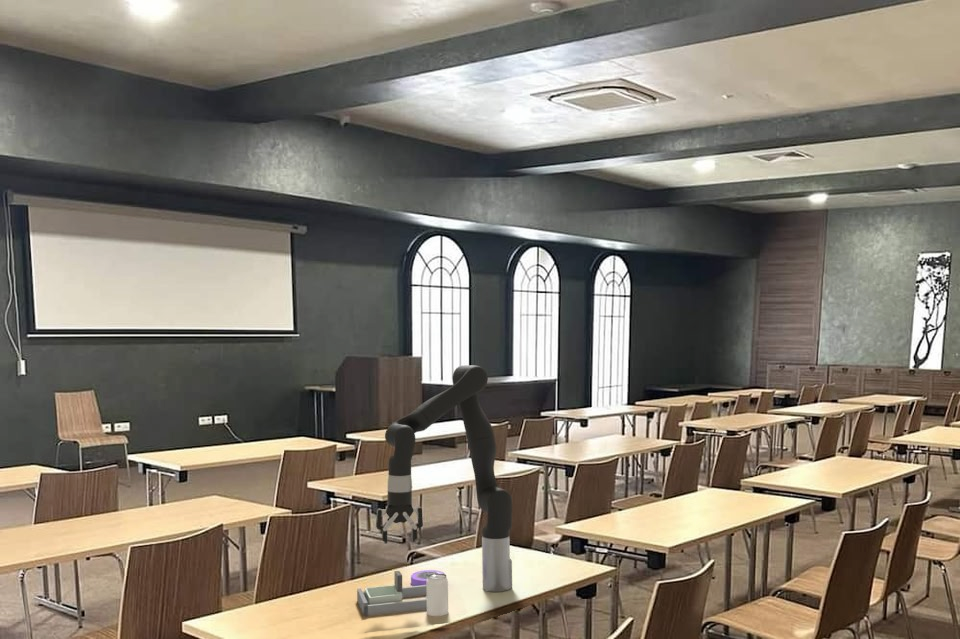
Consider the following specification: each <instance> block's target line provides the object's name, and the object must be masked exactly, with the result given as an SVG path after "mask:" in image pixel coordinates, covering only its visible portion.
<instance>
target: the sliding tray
mask: <svg viewBox="0 0 960 639" xmlns="http://www.w3.org/2000/svg"><path fill="white" fill-rule="evenodd" d="M393 573H394V574H393V575H394V584H390V585H382V586H381V585H379V586H371V587H364V591H365V598H366V600H367V602H368V605H371V604H380V603H389V602H399V601H403V598H402V593H401V592H402V587H403V574H402V573H401V571H400V570H394V572H393Z"/></svg>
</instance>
